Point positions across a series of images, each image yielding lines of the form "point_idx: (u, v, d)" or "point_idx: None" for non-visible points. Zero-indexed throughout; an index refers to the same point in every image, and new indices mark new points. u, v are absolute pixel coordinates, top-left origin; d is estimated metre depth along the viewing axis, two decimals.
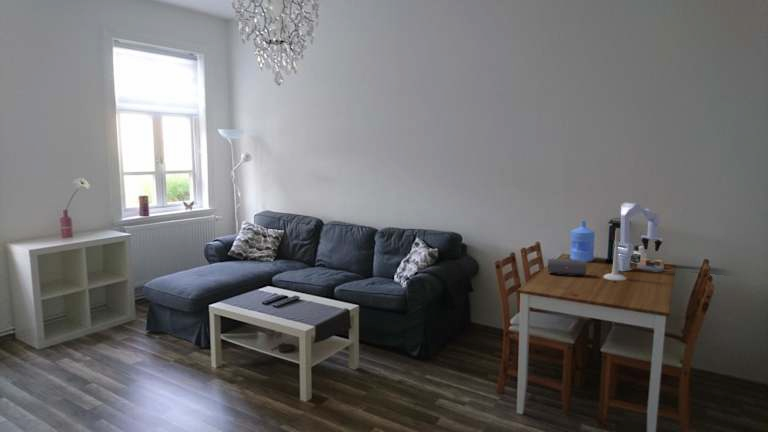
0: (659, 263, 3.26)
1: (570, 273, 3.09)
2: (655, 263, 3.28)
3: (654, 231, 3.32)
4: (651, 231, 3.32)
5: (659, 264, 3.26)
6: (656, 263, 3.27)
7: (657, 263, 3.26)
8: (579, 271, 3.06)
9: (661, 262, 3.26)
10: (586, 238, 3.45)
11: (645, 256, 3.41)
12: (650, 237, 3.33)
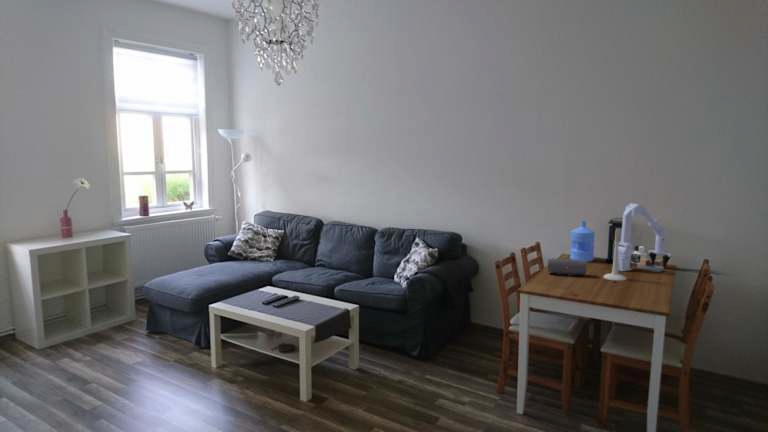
0: (659, 263, 3.26)
1: (570, 273, 3.09)
2: (655, 263, 3.28)
3: (662, 246, 3.24)
4: (659, 246, 3.24)
5: (659, 264, 3.26)
6: (656, 263, 3.27)
7: (657, 263, 3.26)
8: (579, 271, 3.06)
9: (661, 262, 3.26)
10: (586, 238, 3.45)
11: (645, 256, 3.41)
12: (658, 252, 3.25)
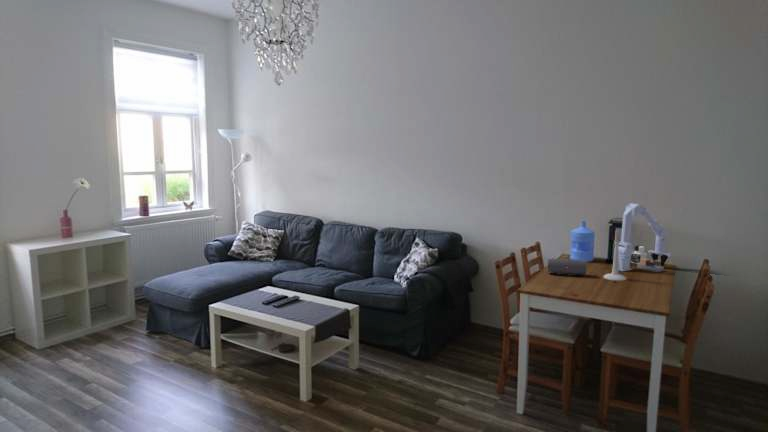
0: (659, 263, 3.26)
1: (570, 273, 3.09)
2: (655, 263, 3.28)
3: (662, 246, 3.24)
4: (659, 246, 3.24)
5: (659, 264, 3.26)
6: (656, 263, 3.27)
7: (657, 263, 3.26)
8: (579, 271, 3.06)
9: None
10: (586, 238, 3.45)
11: (645, 256, 3.41)
12: (658, 252, 3.25)
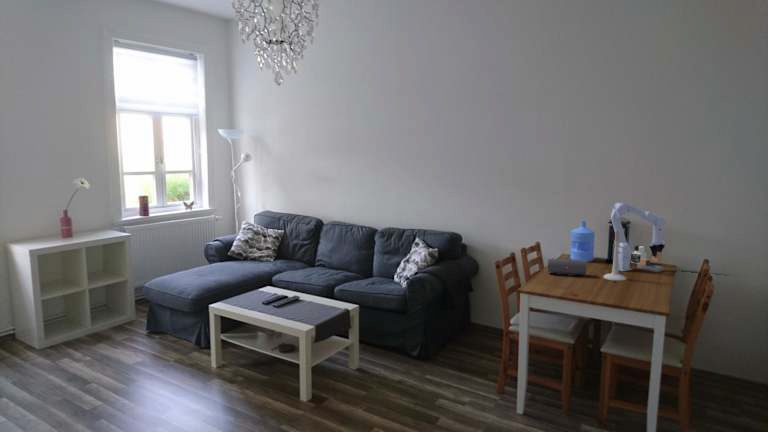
0: None
1: (570, 273, 3.09)
2: None
3: (653, 235, 3.20)
4: None
5: None
6: None
7: None
8: (579, 271, 3.06)
9: None
10: (586, 238, 3.45)
11: (645, 256, 3.41)
12: None
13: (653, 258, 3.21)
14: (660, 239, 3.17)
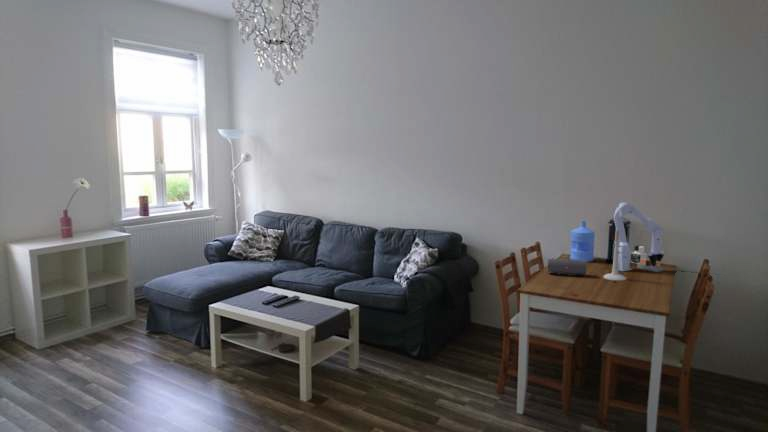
0: None
1: (570, 273, 3.09)
2: None
3: (652, 245, 3.19)
4: None
5: None
6: None
7: None
8: (579, 271, 3.06)
9: None
10: (586, 238, 3.45)
11: (645, 256, 3.41)
12: None
13: None
14: (659, 249, 3.17)
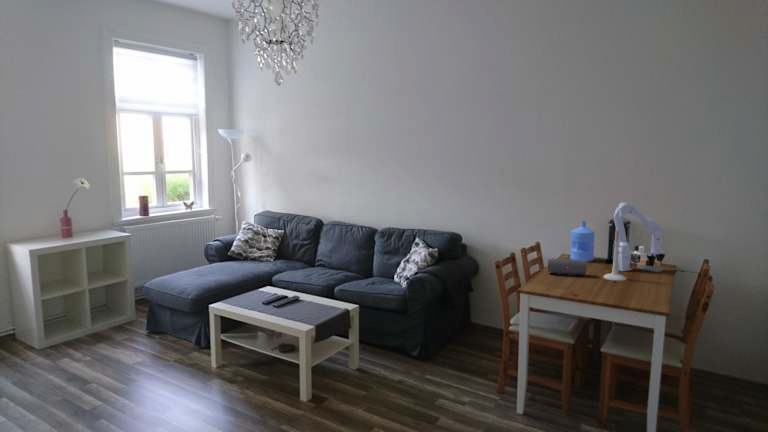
0: None
1: (570, 273, 3.09)
2: None
3: (652, 245, 3.19)
4: None
5: None
6: None
7: None
8: (579, 271, 3.06)
9: None
10: (586, 238, 3.45)
11: (645, 256, 3.41)
12: None
13: None
14: (659, 249, 3.17)
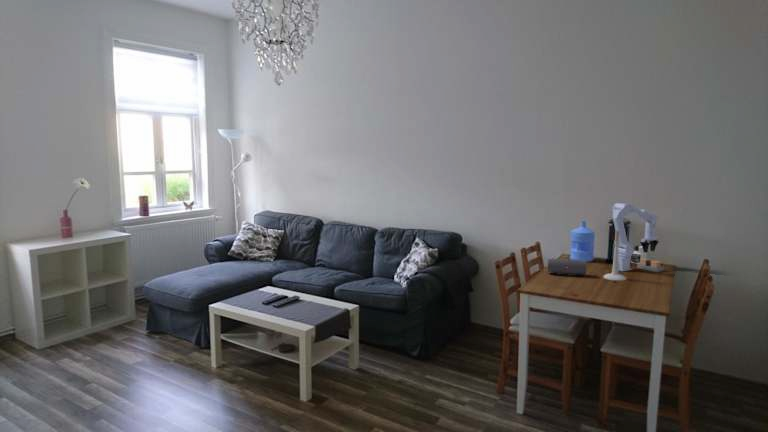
0: (651, 263, 3.21)
1: (570, 273, 3.09)
2: None
3: (645, 232, 3.28)
4: None
5: (651, 264, 3.21)
6: None
7: None
8: (579, 271, 3.06)
9: (652, 263, 3.20)
10: (586, 238, 3.45)
11: (645, 256, 3.41)
12: None
13: None
14: (652, 235, 3.26)
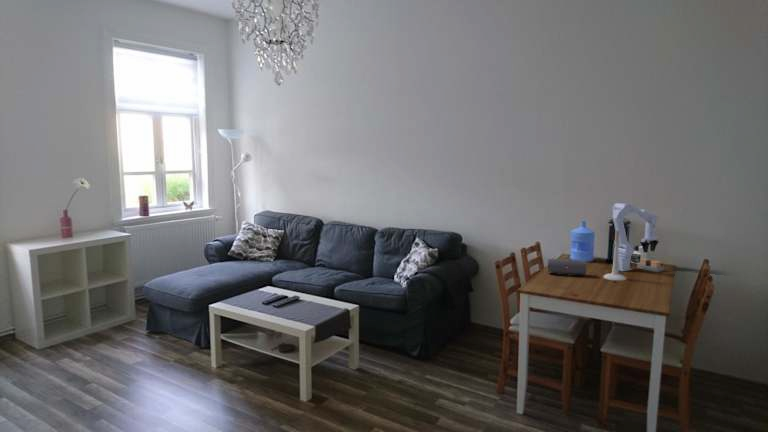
0: (651, 263, 3.21)
1: (570, 273, 3.09)
2: None
3: (645, 232, 3.28)
4: None
5: (651, 264, 3.21)
6: None
7: None
8: (579, 271, 3.06)
9: (652, 263, 3.20)
10: (586, 238, 3.45)
11: (645, 256, 3.41)
12: None
13: None
14: (652, 235, 3.26)
